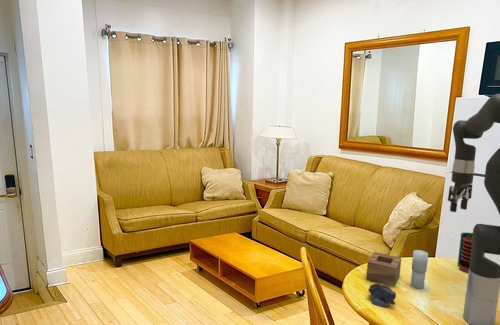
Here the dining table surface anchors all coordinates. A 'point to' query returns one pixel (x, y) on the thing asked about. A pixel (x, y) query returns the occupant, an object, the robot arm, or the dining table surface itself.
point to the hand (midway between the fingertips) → (458, 210)
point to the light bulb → (419, 268)
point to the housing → (383, 269)
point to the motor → (465, 252)
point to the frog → (381, 295)
